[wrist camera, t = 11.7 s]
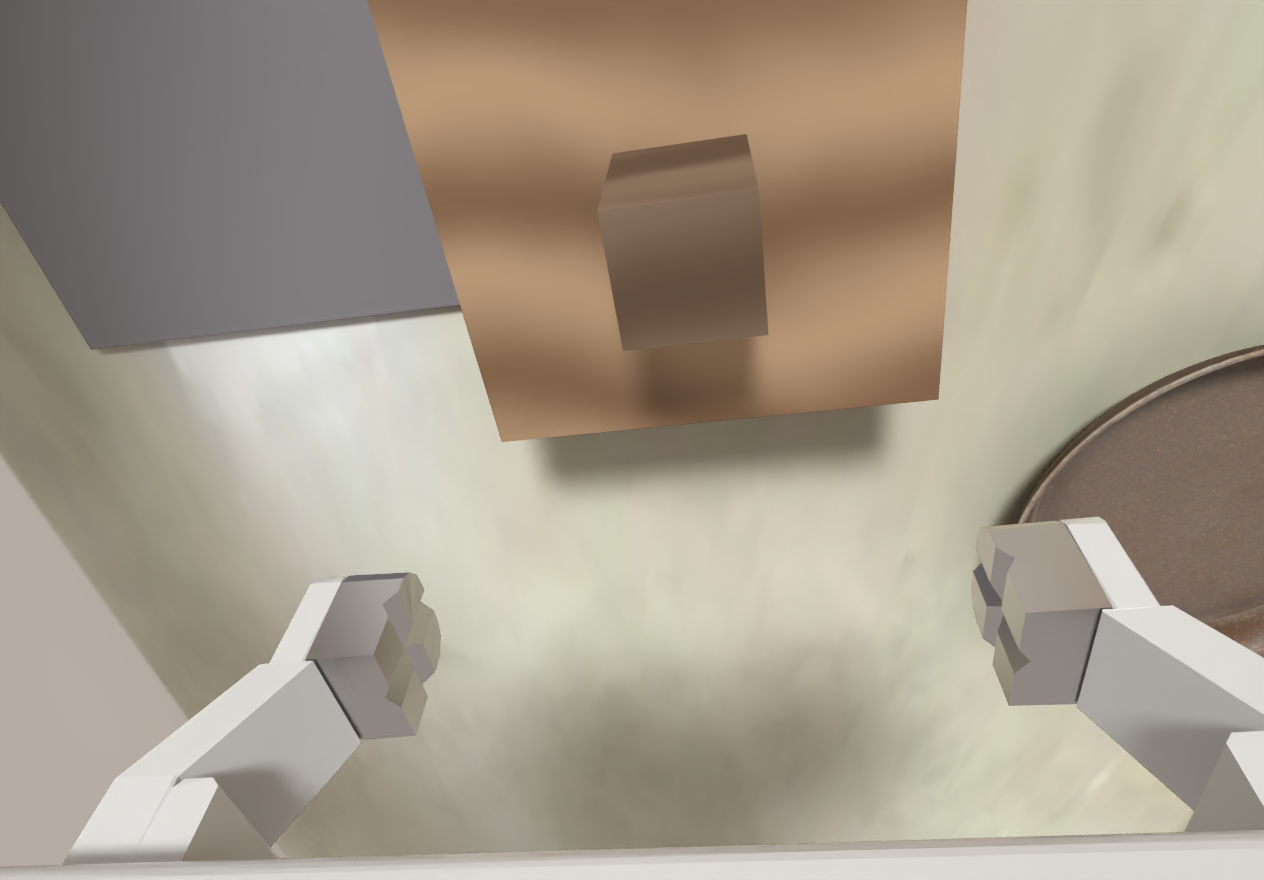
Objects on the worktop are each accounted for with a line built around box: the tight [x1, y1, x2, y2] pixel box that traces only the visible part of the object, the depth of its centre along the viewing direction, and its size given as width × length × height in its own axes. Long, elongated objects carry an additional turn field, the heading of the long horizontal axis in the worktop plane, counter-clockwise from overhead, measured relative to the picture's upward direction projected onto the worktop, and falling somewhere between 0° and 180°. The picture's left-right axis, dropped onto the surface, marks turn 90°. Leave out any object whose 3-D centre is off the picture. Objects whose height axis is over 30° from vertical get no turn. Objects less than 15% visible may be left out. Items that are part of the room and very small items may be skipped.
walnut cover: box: [367, 0, 967, 442], centre depth 23 cm, size 16×16×6 cm
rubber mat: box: [0, 0, 460, 350], centre depth 31 cm, size 18×18×1 cm
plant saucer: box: [1017, 345, 1264, 658], centre depth 38 cm, size 21×21×3 cm
